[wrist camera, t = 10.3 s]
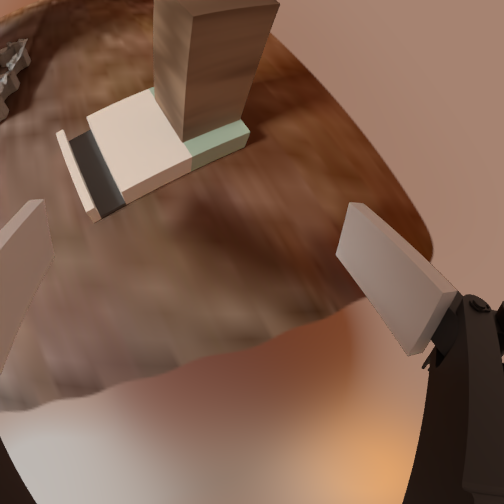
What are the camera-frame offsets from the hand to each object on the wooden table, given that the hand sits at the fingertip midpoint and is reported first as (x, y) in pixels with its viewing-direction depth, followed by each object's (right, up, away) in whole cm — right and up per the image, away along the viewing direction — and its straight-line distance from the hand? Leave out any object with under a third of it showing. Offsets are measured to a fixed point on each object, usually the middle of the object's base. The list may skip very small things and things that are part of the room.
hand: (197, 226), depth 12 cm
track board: (-5, +7, +8) cm, 12 cm away
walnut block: (-2, +9, +8) cm, 12 cm away
